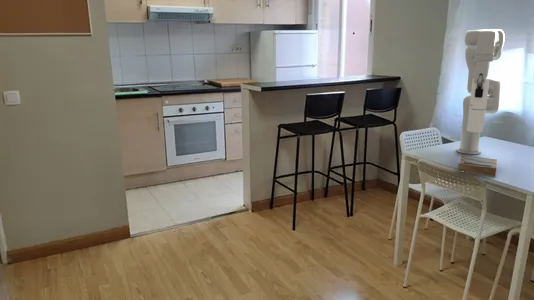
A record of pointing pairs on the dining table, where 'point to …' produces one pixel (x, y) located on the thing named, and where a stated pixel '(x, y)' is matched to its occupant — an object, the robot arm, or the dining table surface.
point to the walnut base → (478, 165)
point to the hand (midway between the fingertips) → (479, 96)
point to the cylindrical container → (477, 108)
